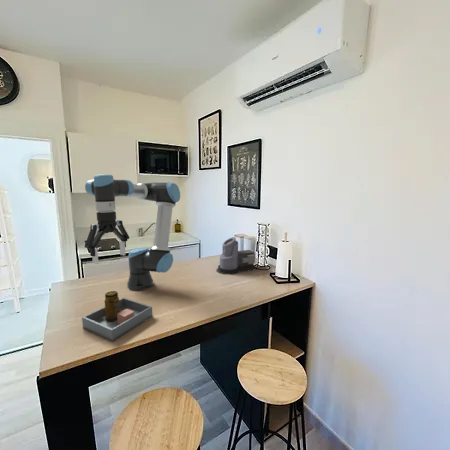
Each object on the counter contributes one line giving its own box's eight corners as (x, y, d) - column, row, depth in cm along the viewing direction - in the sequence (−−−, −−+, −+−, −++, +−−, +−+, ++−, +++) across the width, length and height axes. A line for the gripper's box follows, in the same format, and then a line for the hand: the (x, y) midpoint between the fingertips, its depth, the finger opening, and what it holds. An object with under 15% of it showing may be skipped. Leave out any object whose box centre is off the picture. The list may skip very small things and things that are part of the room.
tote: (82, 327, 107) (81, 317, 106) (124, 306, 126) (123, 297, 125) (112, 341, 98) (111, 330, 97) (152, 316, 116) (152, 306, 115)
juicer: (221, 275, 169) (221, 241, 165) (213, 268, 184) (213, 236, 180) (259, 270, 180) (260, 237, 176) (248, 263, 195) (249, 233, 191)
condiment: (117, 312, 118) (115, 288, 116) (125, 318, 113) (123, 294, 111) (101, 317, 113) (99, 293, 111) (109, 325, 107) (107, 299, 105)
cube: (117, 324, 108) (117, 313, 107) (127, 318, 112) (126, 308, 112) (125, 327, 106) (124, 316, 105) (134, 321, 110) (134, 311, 109)
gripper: (82, 215, 92) (88, 268, 96) (135, 209, 114) (138, 253, 118) (71, 213, 96) (76, 265, 100) (124, 208, 118) (127, 250, 121)
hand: (110, 258), depth 109 cm, fingers open, 13 cm apart
